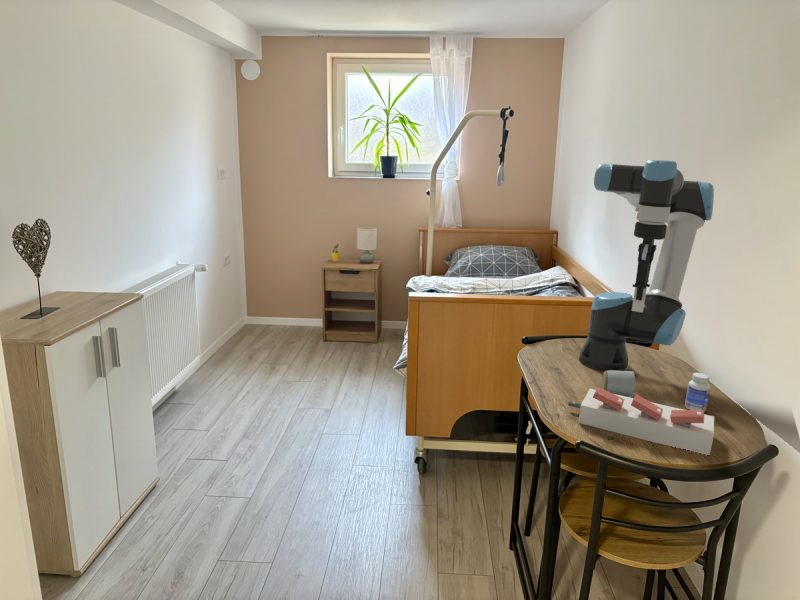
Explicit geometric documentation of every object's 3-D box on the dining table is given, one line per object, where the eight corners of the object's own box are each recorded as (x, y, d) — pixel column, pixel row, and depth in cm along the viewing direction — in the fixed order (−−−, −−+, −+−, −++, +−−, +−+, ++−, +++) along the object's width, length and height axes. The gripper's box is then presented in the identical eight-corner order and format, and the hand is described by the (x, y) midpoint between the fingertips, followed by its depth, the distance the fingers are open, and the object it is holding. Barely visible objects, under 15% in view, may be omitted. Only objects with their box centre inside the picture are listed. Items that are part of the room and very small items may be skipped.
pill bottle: (707, 414, 158) (714, 380, 155) (685, 410, 160) (691, 377, 157) (704, 406, 163) (711, 373, 160) (683, 402, 165) (689, 370, 162)
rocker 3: (672, 416, 143) (671, 409, 143) (704, 416, 140) (703, 409, 140) (671, 422, 140) (670, 416, 140) (703, 423, 136) (703, 416, 136)
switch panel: (572, 401, 162) (575, 381, 160) (710, 434, 147) (714, 412, 145) (562, 418, 152) (565, 397, 150) (709, 456, 136) (714, 432, 135)
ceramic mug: (600, 388, 171) (603, 364, 169) (629, 392, 170) (633, 367, 168) (603, 404, 162) (607, 378, 159) (635, 408, 160) (639, 382, 158)
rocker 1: (595, 391, 151) (598, 386, 150) (622, 404, 148) (624, 399, 148) (592, 397, 148) (595, 391, 147) (619, 410, 145) (622, 405, 144)
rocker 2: (632, 399, 147) (636, 393, 146) (659, 414, 145) (663, 409, 144) (630, 405, 143) (634, 399, 143) (658, 420, 141) (661, 415, 141)
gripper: (638, 218, 157) (625, 303, 163) (632, 223, 146) (618, 314, 152) (669, 221, 154) (654, 307, 160) (665, 226, 143) (649, 319, 149)
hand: (637, 310), depth 156 cm, fingers closed
